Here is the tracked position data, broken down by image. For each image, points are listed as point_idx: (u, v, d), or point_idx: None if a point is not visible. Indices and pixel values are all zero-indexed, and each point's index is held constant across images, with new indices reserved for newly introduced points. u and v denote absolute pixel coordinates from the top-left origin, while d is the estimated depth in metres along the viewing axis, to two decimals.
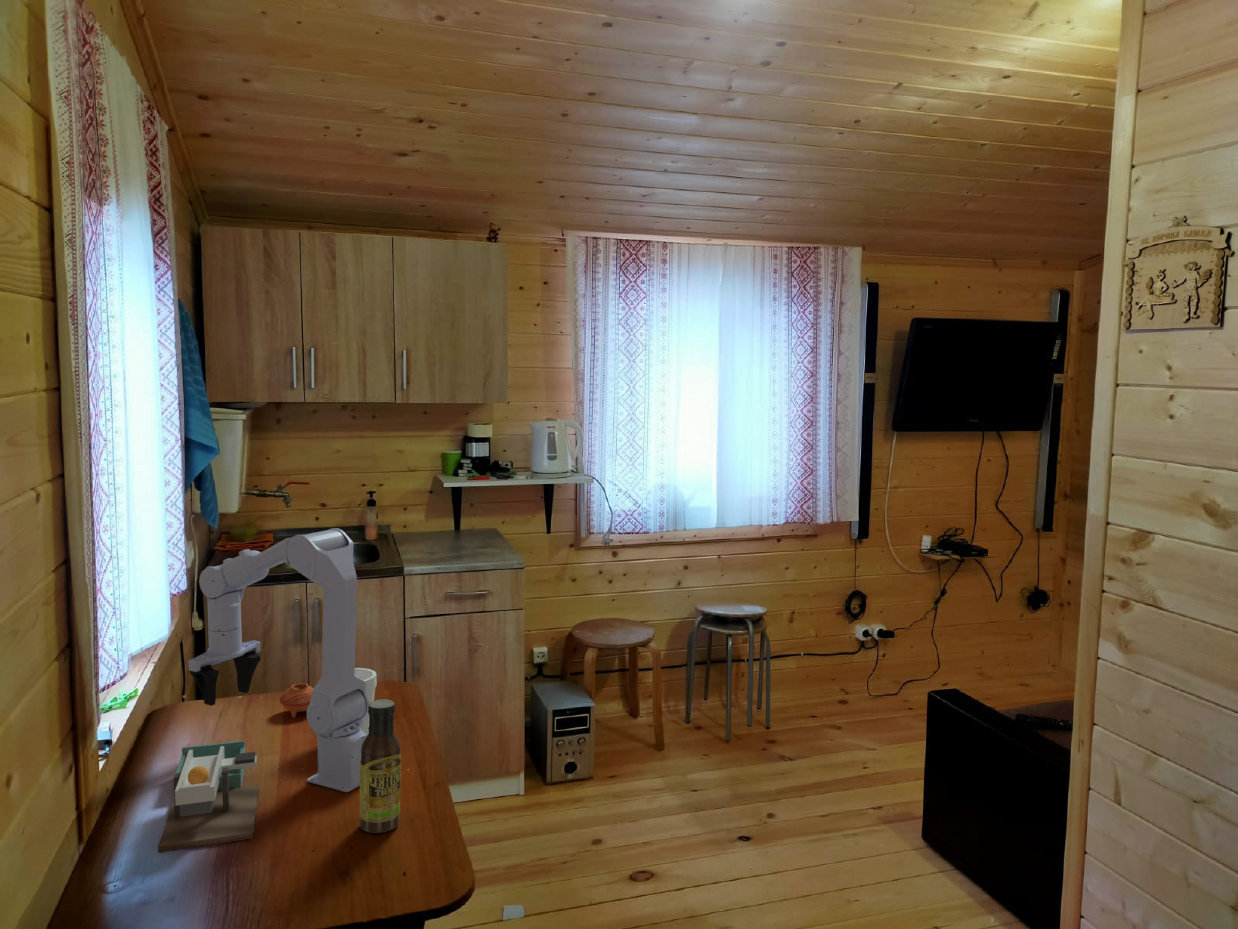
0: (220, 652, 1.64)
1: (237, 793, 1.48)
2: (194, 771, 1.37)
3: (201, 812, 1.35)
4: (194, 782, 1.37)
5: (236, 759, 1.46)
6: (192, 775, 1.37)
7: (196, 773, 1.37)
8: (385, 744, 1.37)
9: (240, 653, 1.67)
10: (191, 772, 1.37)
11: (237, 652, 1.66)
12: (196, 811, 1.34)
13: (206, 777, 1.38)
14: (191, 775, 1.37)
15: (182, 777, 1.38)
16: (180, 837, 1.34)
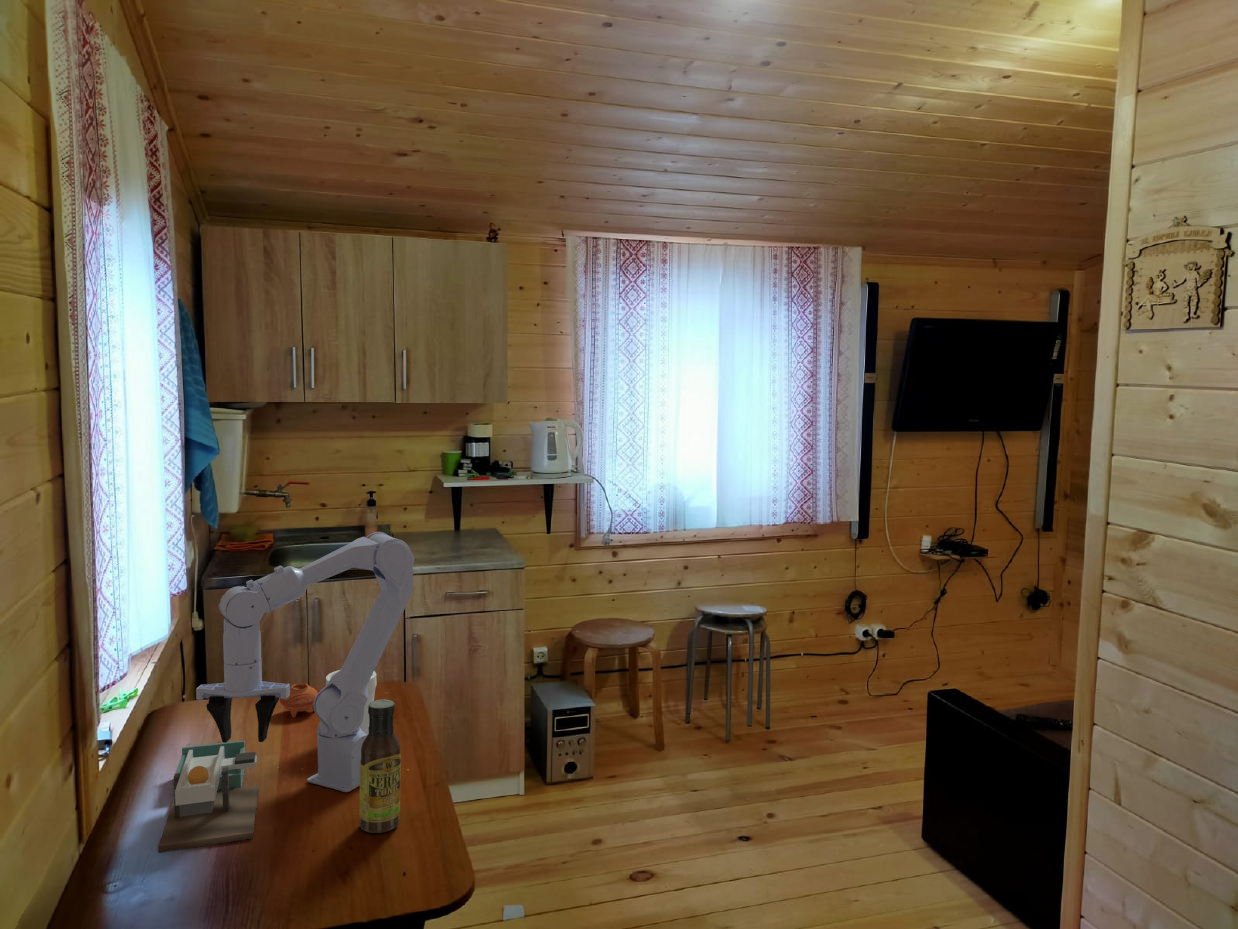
0: (225, 686, 1.45)
1: (237, 793, 1.48)
2: (194, 771, 1.37)
3: (201, 812, 1.35)
4: (194, 782, 1.37)
5: (236, 759, 1.46)
6: (192, 775, 1.37)
7: (196, 773, 1.37)
8: (385, 744, 1.37)
9: (243, 694, 1.44)
10: (191, 772, 1.37)
11: (238, 692, 1.44)
12: (196, 811, 1.34)
13: (206, 777, 1.38)
14: (191, 775, 1.37)
15: (182, 777, 1.38)
16: (180, 837, 1.34)
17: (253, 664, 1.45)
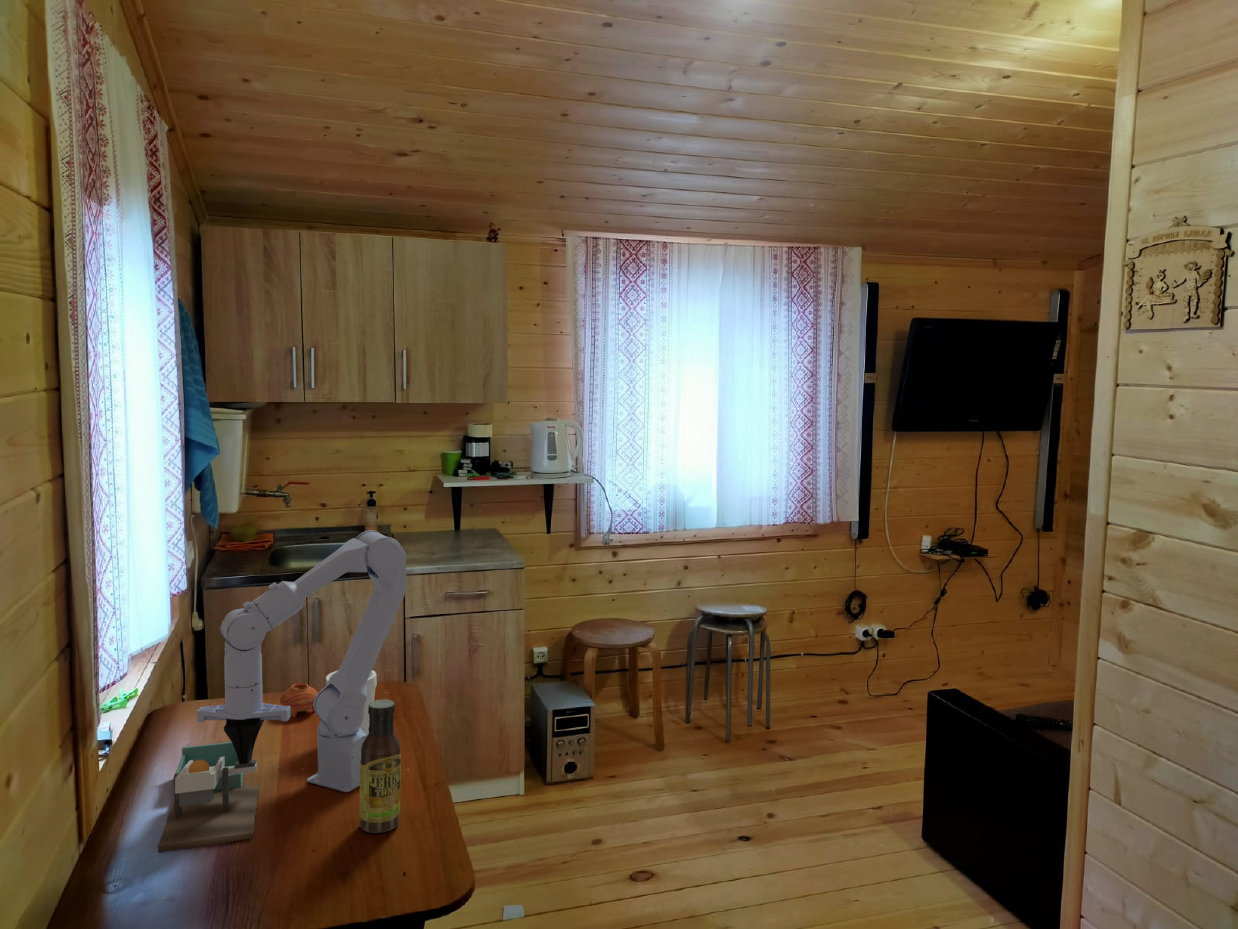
0: (225, 709, 1.45)
1: (237, 793, 1.48)
2: (195, 761, 1.38)
3: (200, 802, 1.34)
4: (195, 771, 1.37)
5: (236, 764, 1.46)
6: (193, 764, 1.38)
7: (197, 762, 1.38)
8: (385, 744, 1.37)
9: (243, 717, 1.44)
10: None
11: (239, 714, 1.44)
12: (195, 801, 1.34)
13: (207, 767, 1.38)
14: (192, 764, 1.38)
15: (182, 772, 1.38)
16: (180, 837, 1.34)
17: (254, 687, 1.45)
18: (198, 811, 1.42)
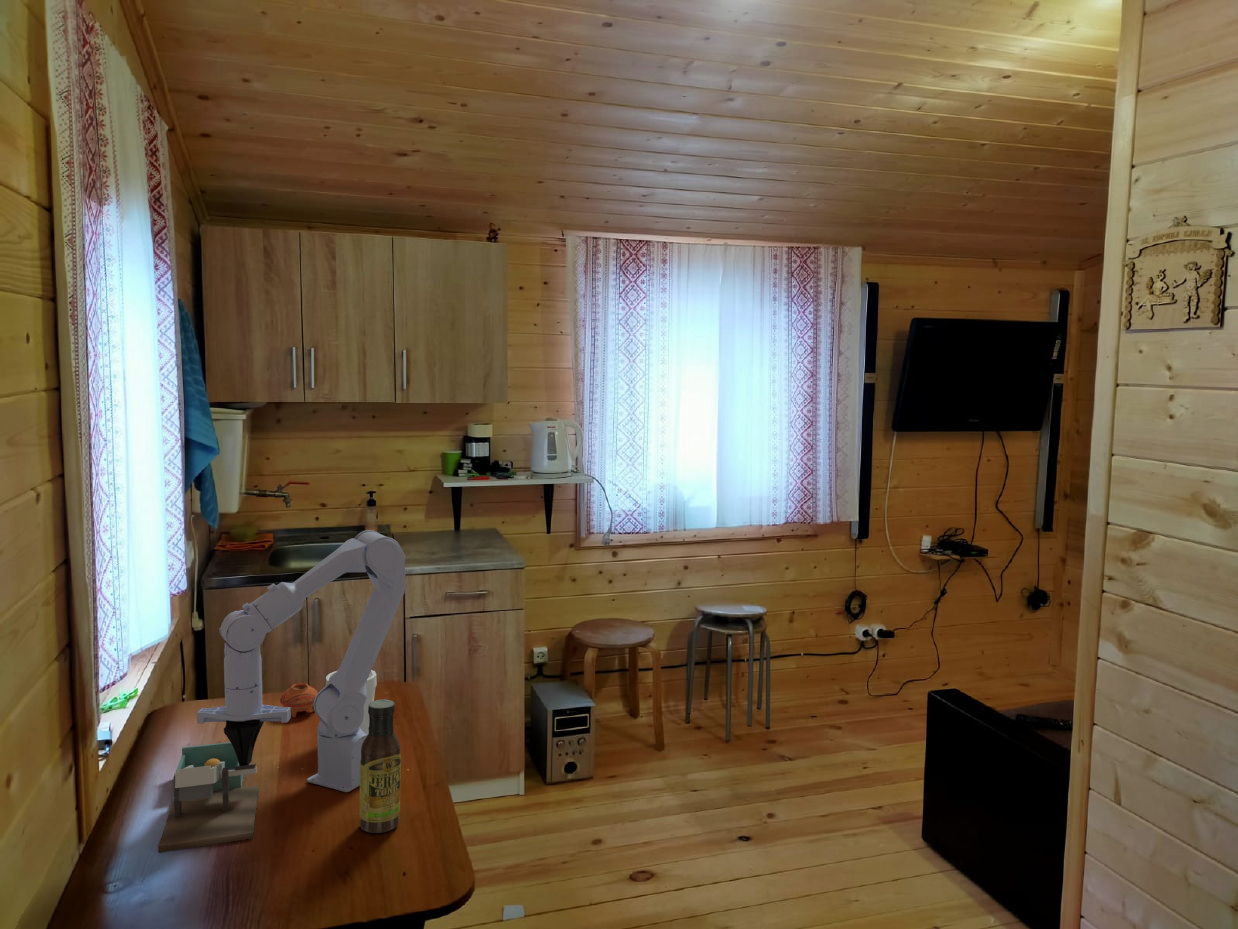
0: (225, 710, 1.45)
1: (237, 793, 1.48)
2: None
3: (200, 797, 1.34)
4: (210, 759, 1.57)
5: (236, 766, 1.46)
6: None
7: None
8: (385, 744, 1.37)
9: (243, 718, 1.44)
10: None
11: (239, 716, 1.44)
12: (195, 795, 1.34)
13: None
14: None
15: None
16: (180, 837, 1.34)
17: (254, 688, 1.45)
18: (198, 811, 1.42)
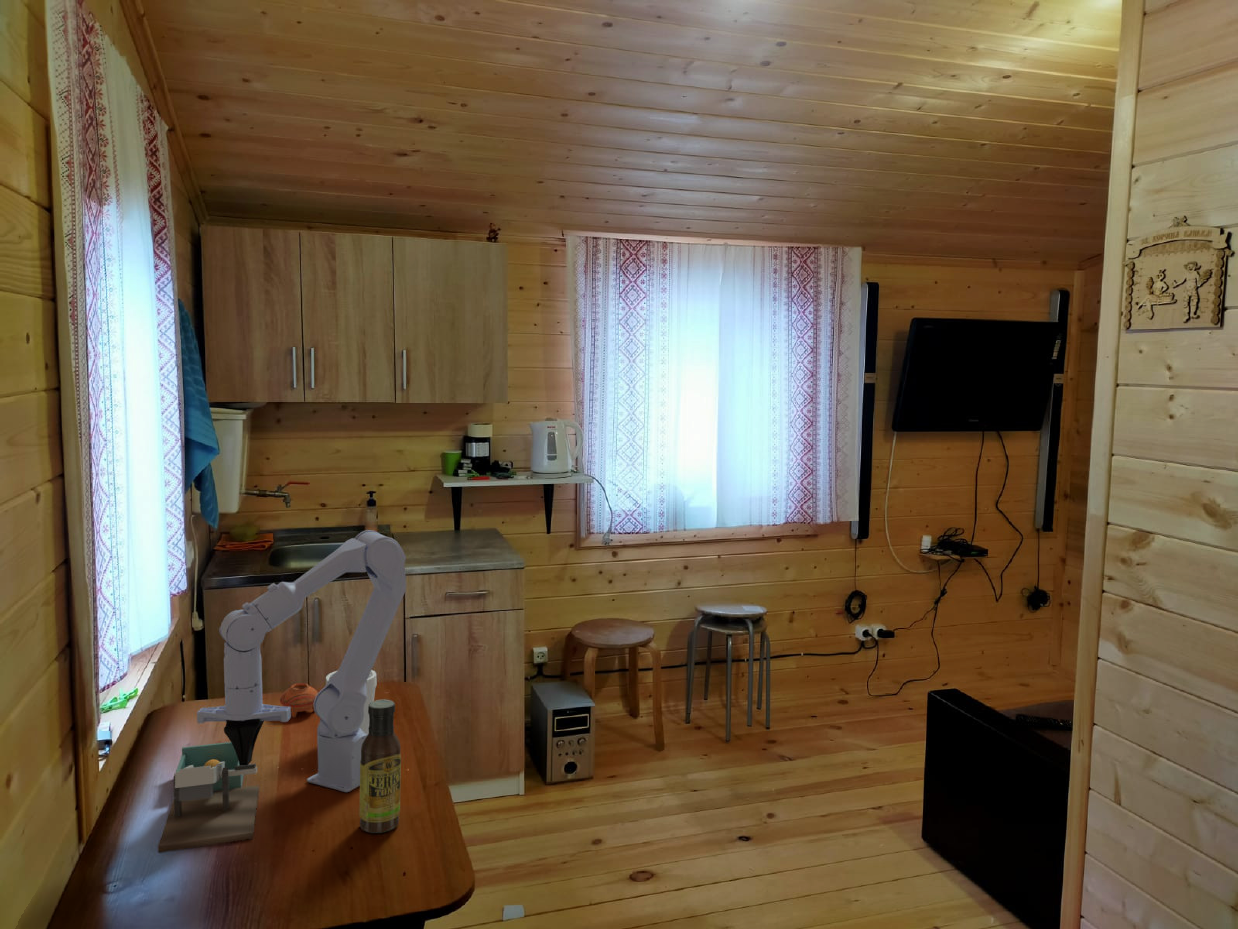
0: (225, 710, 1.45)
1: (237, 793, 1.48)
2: None
3: (200, 797, 1.34)
4: (210, 760, 1.56)
5: (236, 766, 1.46)
6: None
7: None
8: (385, 744, 1.37)
9: (243, 718, 1.44)
10: None
11: (239, 715, 1.44)
12: (195, 795, 1.34)
13: None
14: None
15: None
16: (180, 837, 1.34)
17: (254, 688, 1.45)
18: (198, 811, 1.42)
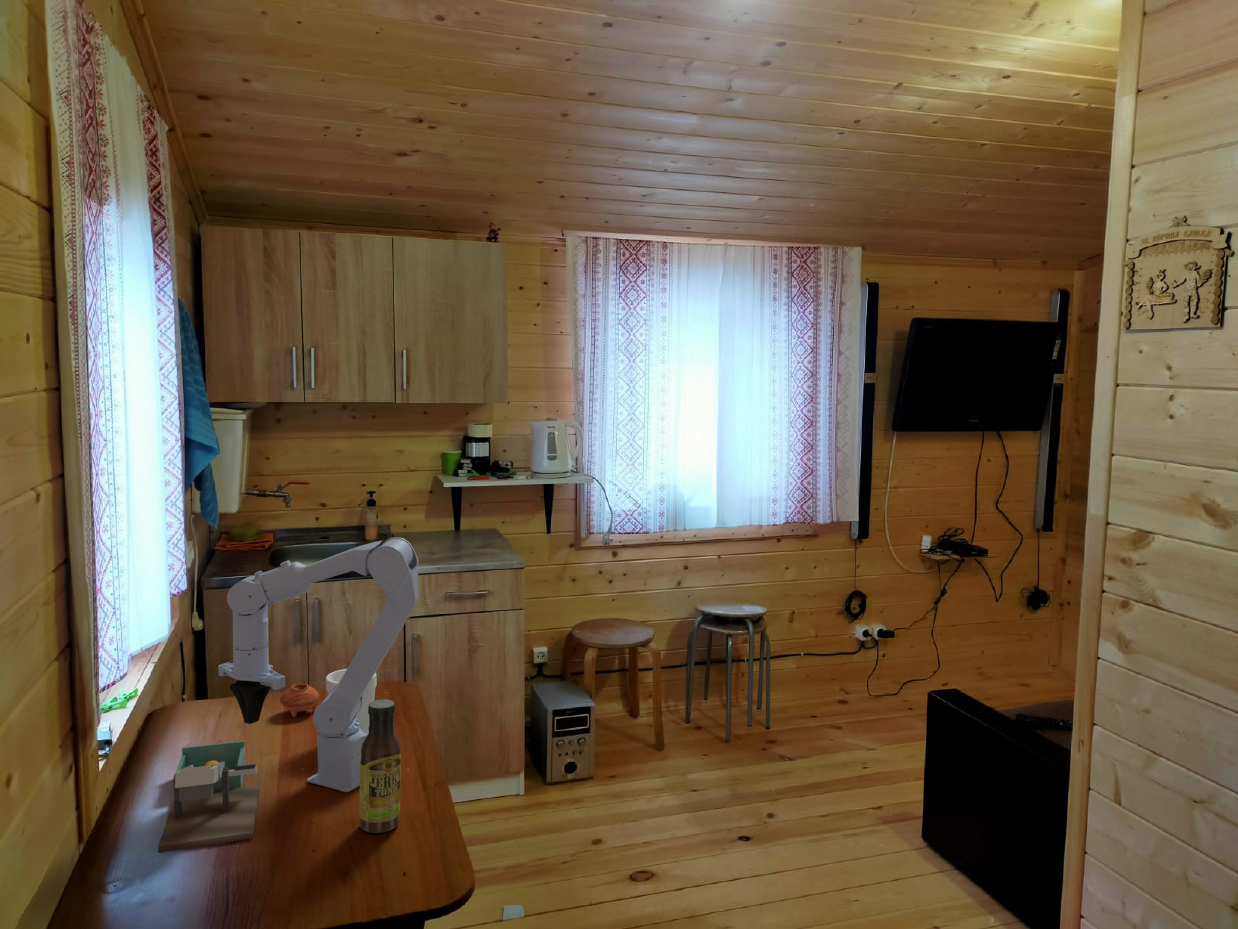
0: None
1: (237, 793, 1.48)
2: None
3: (200, 797, 1.34)
4: (209, 763, 1.55)
5: (236, 766, 1.46)
6: (207, 762, 1.56)
7: None
8: (385, 744, 1.37)
9: (241, 678, 1.52)
10: None
11: (238, 675, 1.52)
12: (195, 795, 1.34)
13: None
14: (207, 762, 1.56)
15: None
16: (180, 837, 1.34)
17: (252, 651, 1.52)
18: (198, 811, 1.42)
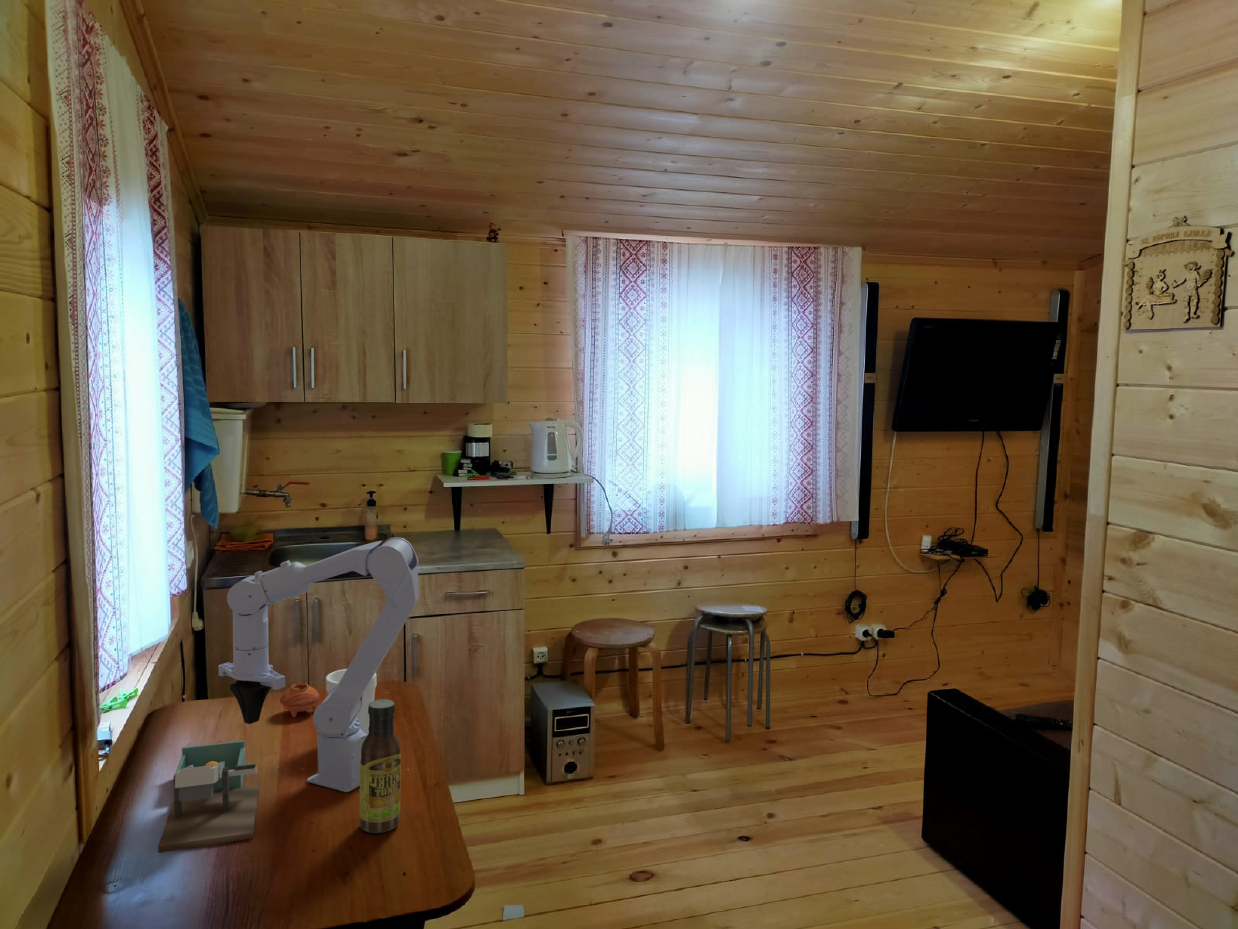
0: None
1: (237, 793, 1.48)
2: None
3: (200, 797, 1.34)
4: (209, 765, 1.54)
5: (236, 766, 1.46)
6: (207, 763, 1.55)
7: (211, 761, 1.56)
8: (385, 744, 1.37)
9: (241, 678, 1.52)
10: (206, 764, 1.56)
11: (238, 675, 1.52)
12: (195, 795, 1.34)
13: None
14: (207, 763, 1.55)
15: None
16: (180, 837, 1.34)
17: (252, 651, 1.52)
18: (198, 811, 1.42)
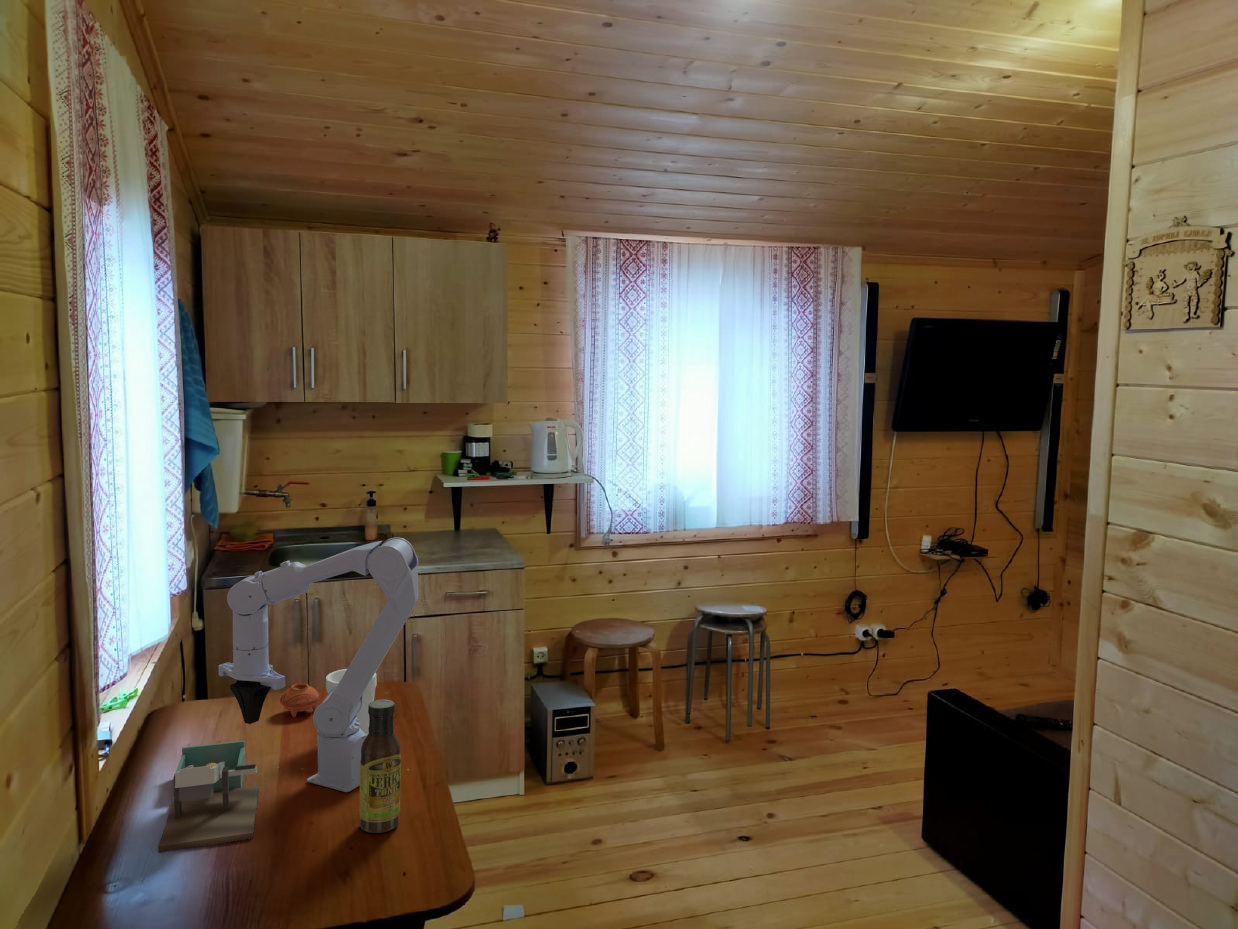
0: None
1: (237, 793, 1.48)
2: (208, 764, 1.55)
3: (200, 797, 1.34)
4: None
5: (236, 766, 1.46)
6: None
7: (210, 764, 1.54)
8: (385, 744, 1.37)
9: (241, 678, 1.52)
10: (206, 765, 1.55)
11: (238, 675, 1.52)
12: (195, 795, 1.34)
13: None
14: None
15: None
16: (180, 837, 1.34)
17: (252, 651, 1.52)
18: (198, 811, 1.42)
